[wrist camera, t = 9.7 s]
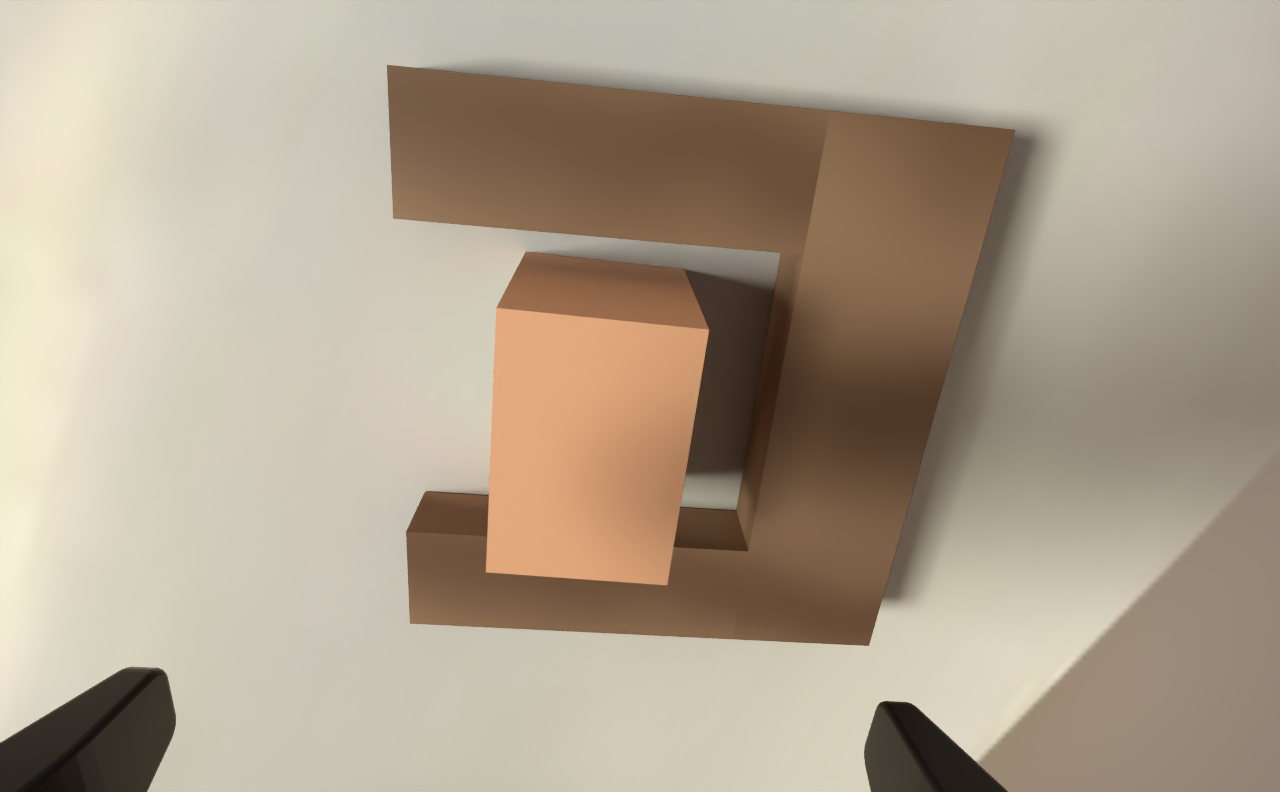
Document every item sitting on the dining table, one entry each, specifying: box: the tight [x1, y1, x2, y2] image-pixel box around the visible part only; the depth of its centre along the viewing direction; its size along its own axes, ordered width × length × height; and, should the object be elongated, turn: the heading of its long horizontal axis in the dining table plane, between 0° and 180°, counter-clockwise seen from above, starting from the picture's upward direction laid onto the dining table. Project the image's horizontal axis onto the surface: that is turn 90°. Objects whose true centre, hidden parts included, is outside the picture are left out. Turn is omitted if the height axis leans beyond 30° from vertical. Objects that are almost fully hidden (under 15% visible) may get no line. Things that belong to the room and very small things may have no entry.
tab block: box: [486, 252, 709, 585], centre depth 17 cm, size 6×4×5 cm, turn 173°
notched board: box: [387, 65, 1015, 646], centre depth 18 cm, size 14×13×2 cm
